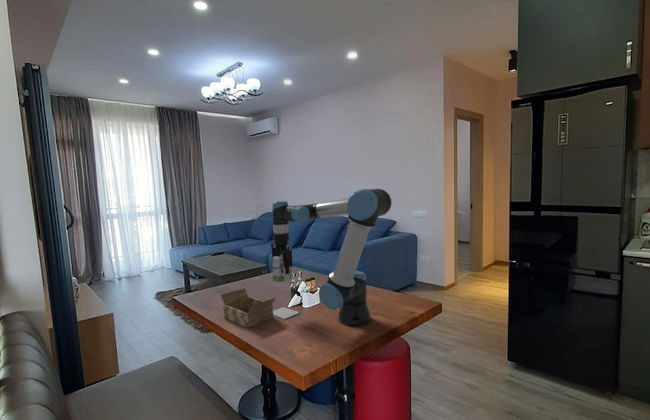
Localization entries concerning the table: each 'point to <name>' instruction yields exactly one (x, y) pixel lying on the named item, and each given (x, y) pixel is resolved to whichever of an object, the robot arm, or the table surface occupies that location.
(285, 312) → the felt mat
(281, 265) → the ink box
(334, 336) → the table surface
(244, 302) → the carton
